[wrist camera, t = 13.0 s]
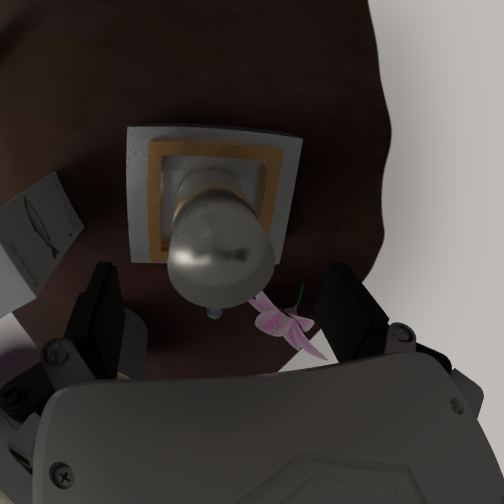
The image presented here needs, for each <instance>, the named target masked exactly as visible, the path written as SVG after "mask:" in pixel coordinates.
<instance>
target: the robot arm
mask: <svg viewBox="0 0 504 504" xmlns="http://www.w3.org/2000/svg"><path fill="white" fill-rule="evenodd" d="M314 316H315V318H316V320H317V322H318V324H319V325H320V327H321V329H322V331H323V333H324V335H325V337H326V339H327V341H328V343H329V345H330V346H331V348H332V350H333V352H334V354H335V356H336V358H337V360H338V362H339V363H336V364H330V365H325V366H319V367H312V368H306V369H300V370H293V371H285V372H277V373H268V374H259V375H249V376H237V377H223V378H204V379H117V373H118V365H119V358H120V351H121V344H122V338H123V332H124V326H125V311H124V306H123V301H122V296H121V290H120V285H119V279H118V273H117V267H116V265H112V262H98V263H97V265H96V268H95V270H94V272H93V275H92V277H91V280H90V282H89V284H88V287H87V289H86V292H81V293H80V294H79V296H78V299H77V301H76V304H75V306H74V309H73V312H72V314H71V317H70V320H69V322H68V325H67V328H66V331H65V334H64V337H63V338H54V339H52V340H49V341H48V342H47V343H45V345H44V346H43V347H42V349H41V351H40V360H41V362H39V363H37V364H36V365H34V366H33V367H31V368H30V369H28V370H26V371H25V372H23V373H22V374H20V375H18V376H17V377H15V378H14V379H12V380H11V381H9V382H8V383H6V384H5V385H4V386H3V387H2V389H1V390H0V489H1V490H2V491H3V492H4V493H5V494H6V495H7V496H8V497H9V498H10V500H12V501H13V503H15V504H504V477H503V475H502V472H501V470H500V468H499V464H498V462H497V460H496V457H495V455H494V452H493V450H492V448H491V446H490V444H489V442H488V440H487V438H486V436H485V434H484V432H483V430H482V428H481V426H480V424H479V422H478V420H477V418H478V415H479V412H480V408H481V405H482V402H483V398H484V394H483V391H482V389H481V388H480V387H479V386H478V385H477V384H476V383H474V382H473V381H472V380H470V379H469V378H468V377H466V376H465V375H464V374H462V373H461V372H460V371H458V370H457V369H455V368H454V369H453V370H452V365H451V362H450V360H449V359H448V358H447V357H446V356H445V355H443V354H442V353H439V352H437V351H435V350H432V349H430V348H428V347H426V346H423V345H421V344H419V343H417V342H416V335H415V333H414V331H413V330H412V329H411V328H410V327H408V326H407V325H405V324H403V323H399V322H397V323H392V324H391V325H390V326H389V325H388V321H389V318H388V316H387V315H386V314H385V312H384V311H383V310H382V308H381V307H380V306H379V304H378V303H377V302H376V300H375V299H374V298H373V297H372V296H371V294H370V293H369V291H368V290H367V289H366V288H365V286H364V285H363V284H362V283H361V281H360V280H359V279H358V278H357V276H356V275H355V274H354V273H353V271H352V270H351V269H350V268H349V267H348V265H347V264H346V263H333V264H332V265H331V266H329V267H328V270H327V273H326V276H325V279H324V282H323V285H322V288H321V291H320V294H319V297H318V300H317V303H316V305H315V308H314ZM35 439H36V443H35V451H34V460H33V469H32V468H31V466H30V464H29V461H28V455H29V452H30V450H31V449H32V447H33V446H34V445H33V444H32V443H33V441H34V440H35ZM69 467H70V468H69ZM66 472H67V473H66Z"/></svg>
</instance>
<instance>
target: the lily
mask: <svg viewBox="0 0 504 504" xmlns="http://www.w3.org/2000/svg"><path fill="white" fill-rule="evenodd" d="M303 286H304V284H303V283H302V285H301V290H300V294H299V298H298V301H297V303H296V305H295V306H294V308H286V307H276V306H274V305H273V303H272V302H271V301H270V300H269V299H268V297H267V296H266V295H265V294H264V292H263V291H261V292H260V293H259V294H257V295H256V296H255V297H256V300H255V299H253V298H252V299H250V300H249V303H250V304H251V305H252V306H253V307H254V308H256V309H257V310H258V311H259V312H260V313H262V314H260V315H259V316H258V317H257V318H256V321H255V325H256V326H257V328H259V329H260V330H262V331H263V332H265V333H267V334H270V335H273V336H282V335H283V336H284V338H285V339H286V340H287V341H288V342H289V343H290V344H291V345H292V346H293V347H294V348H295V349H297V350H300V347H301V348H302V349H304V350H305V351H307V352H308V353H310V354H312V355H314V356H316V357H319V358H321V359H324V360H328V359H327V358H326V357H325V356H323V355H322V354H321V353H320V352H319V351H318V350H317V349H316V348H315V347H314V346H313V345H312V344H311V343H310V342H309V341H308V340H307V338H306V337H305V335H304V334H303V332H302V331H301V329H300V327H299V324H300V326H301V328H302V330H303V331H304V332H307V331H308V330H309V329H310V328H311V327H312V326H313V324H314V321H313V320H311V319H307V318H303V317H299V316H297V313H296V309H297V306H298V304H299V302H300V299H301V296H302V292H303Z"/></svg>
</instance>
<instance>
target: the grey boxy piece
mask: <svg viewBox="0 0 504 504" xmlns="http://www.w3.org/2000/svg"><path fill="white" fill-rule="evenodd" d="M302 142H303V139H302V138H299V137H296V136H294V135H291V134H288V133H285V132H279V131H271V130H264V129H255V128H246V127H236V126H225V125H211V124H191V123H138V124H135V125H132V126H129V127H128V128H127V161H126V177H127V211H128V228H129V242H130V253H131V262H136V263H168V254H169V246H170V238H171V231H172V224H173V217H174V211H175V204H176V198H177V193H178V190H179V188H180V186H181V184H182V183H183V181H184V180H185V179H186V178H187V177H188V176H189V175H191V174H192V173H194V172H196V171H199V170H202V169H207V168H214V169H220V170H223V171H225V172H227V173H229V174H230V175H232V176H233V177H234V178H235V179H236V180H237V182H238V183H239V185H240V187H241V188H242V190H243V192H244V194H245V196H246V197H247V199H248V201H249V203H250V204H251V206H252V208H253V210H254V212H255V214H256V215H257V217H258V219H259V221H260V223H261V224H262V226H263V228H264V230H265V232H266V233H267V235H268V237H269V239H270V241H271V243H272V245H273V248H274V252H275V264H279V263H280V258H281V253H282V248H283V243H284V238H285V233H286V228H287V223H288V218H289V213H290V208H291V203H292V197H293V192H294V187H295V181H296V176H297V170H298V165H299V159H300V153H301V148H302Z"/></svg>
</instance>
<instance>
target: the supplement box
mask: <svg viewBox="0 0 504 504" xmlns="http://www.w3.org/2000/svg"><path fill="white" fill-rule="evenodd" d="M83 229H84V225H83V223H82V222H81V220H80V219H79V217H78V215H77V214H76V212H75V210H74V208H73V207H72V205H71V203H70V201H69V199H68V197H67V195H66V193H65V191H64V189H63V187H62V185H61V183H60V181H59V178H58V176H57V174H56V172H55V171H54V172H52V173H50V174H49V175H47V176H45V177H44V178H42V179H41V180H39V181H38V182H36V183H35V184H33V185H32V186H30V187H29V188H28V189H26V190H25V191H23V192H22V193H20V194H19V195H17V196H16V197H14V198H13V199H11V200H10V201H8V202H7V203H6V204H4V205H3V206H2V207H0V318H2V317H3V316H5V315H7V314H8V313H10V312H12V311H14V310H15V309H17V308H19V307H21V306H23V305H25V304H27V303H28V302H30V301H32V300H34V299H35V298H37V297H38V295H39V293H40V292H41V290H42V288H43V287H44V285H45V284H46V282H47V280H48V279H49V277H50V276H51V274H52V273H53V271H54V270H55V268H56V266H57V265H58V264H59V262H60V260H61V259H62V257H63V256H64V254H65V253H66V252H67V250H68V249H69V247H70V246H71V244H72V243H73V242H74V241H75V239H76V238H77V236H78V235H79V234H80V232H81V231H82V230H83Z"/></svg>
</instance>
